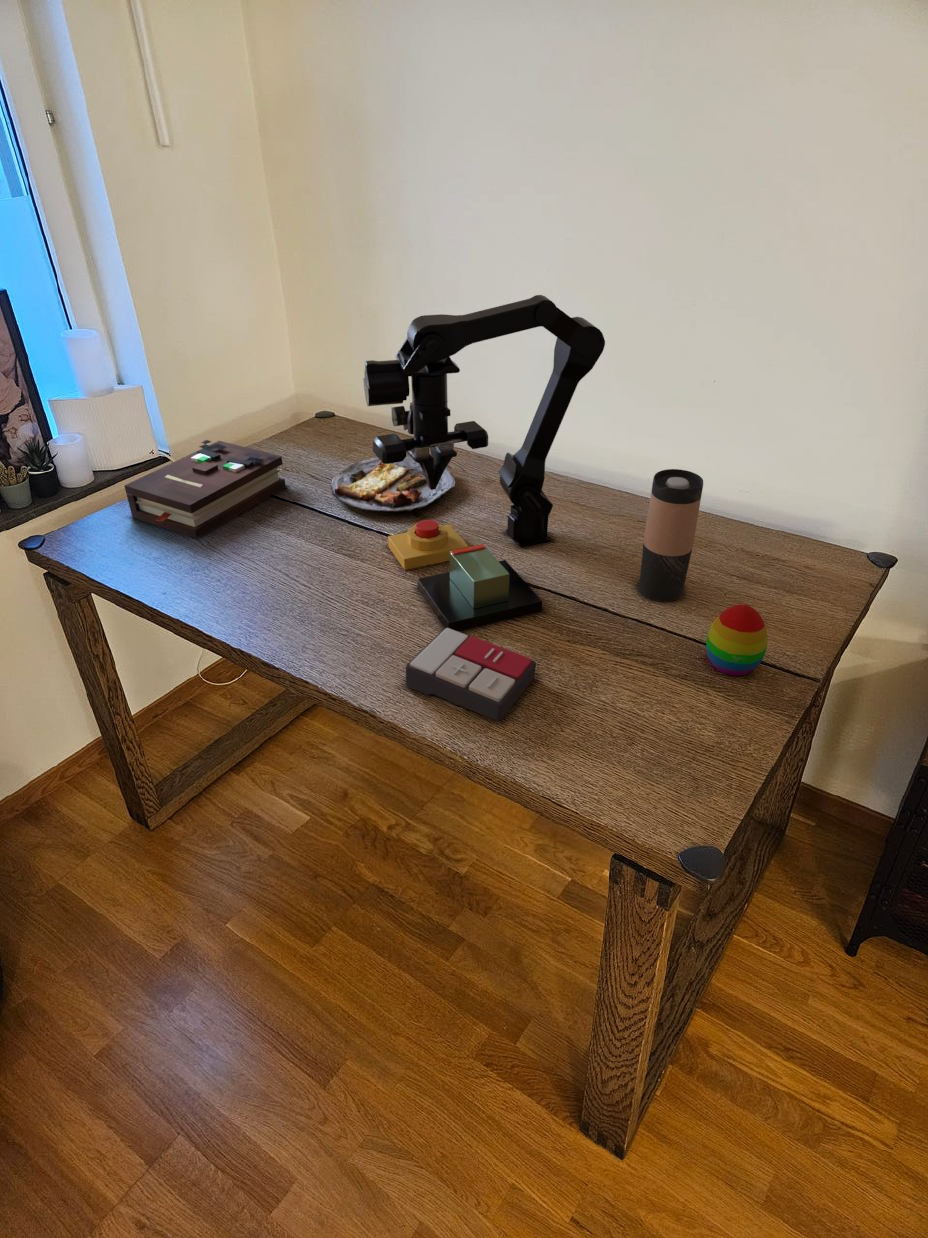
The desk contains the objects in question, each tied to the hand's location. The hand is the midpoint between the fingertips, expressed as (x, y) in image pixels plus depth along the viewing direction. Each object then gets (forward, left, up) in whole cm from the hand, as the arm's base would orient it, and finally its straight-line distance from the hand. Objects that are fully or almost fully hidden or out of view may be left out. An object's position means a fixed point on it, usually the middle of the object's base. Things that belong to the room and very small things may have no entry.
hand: (432, 488), depth 139 cm
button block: (+1, +1, -12) cm, 12 cm away
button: (+1, +1, -8) cm, 8 cm away
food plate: (-1, -25, -12) cm, 28 cm away
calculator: (+9, +38, -12) cm, 41 cm away
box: (-1, +19, -10) cm, 21 cm away
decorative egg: (-28, +49, -12) cm, 57 cm away
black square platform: (-1, +19, -12) cm, 22 cm away
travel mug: (-30, +28, -12) cm, 42 cm away
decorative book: (+34, -35, -12) cm, 50 cm away
